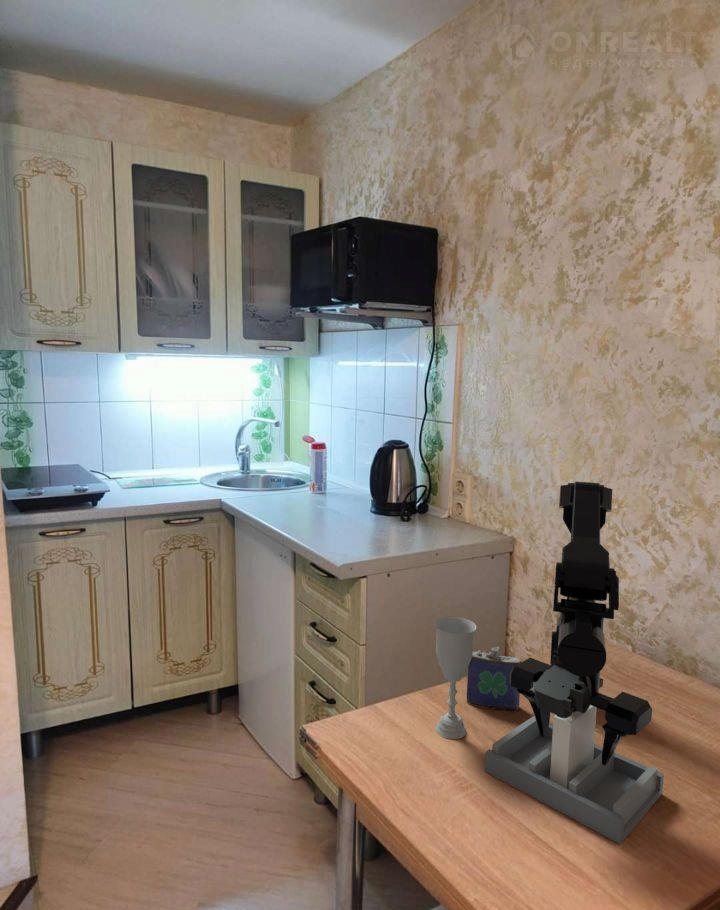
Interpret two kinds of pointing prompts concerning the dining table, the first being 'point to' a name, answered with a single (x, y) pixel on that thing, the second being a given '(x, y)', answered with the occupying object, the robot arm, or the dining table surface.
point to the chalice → (453, 666)
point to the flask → (492, 681)
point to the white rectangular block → (572, 745)
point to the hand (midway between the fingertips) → (573, 749)
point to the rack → (577, 782)
